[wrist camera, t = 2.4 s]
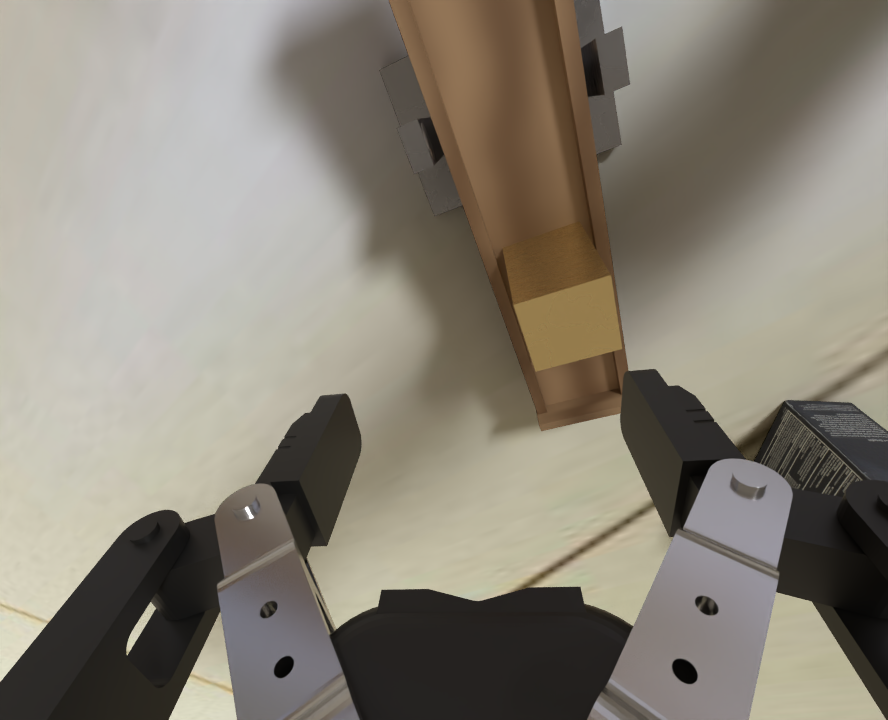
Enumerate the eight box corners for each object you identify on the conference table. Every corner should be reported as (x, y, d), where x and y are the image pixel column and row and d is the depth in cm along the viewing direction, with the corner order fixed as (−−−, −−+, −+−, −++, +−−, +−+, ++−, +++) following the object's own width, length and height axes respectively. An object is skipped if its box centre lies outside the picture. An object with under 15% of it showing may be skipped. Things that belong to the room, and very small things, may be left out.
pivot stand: (589, -32, 25) (637, -96, 17) (617, 143, 30) (664, 155, 22) (382, 71, 29) (344, 56, 21) (435, 213, 33) (420, 244, 25)
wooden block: (579, 221, 26) (610, 275, 21) (591, 286, 29) (622, 348, 24) (502, 247, 27) (513, 305, 22) (521, 308, 30) (535, 371, 25)
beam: (485, -509, 13) (492, -646, 10) (625, 380, 36) (638, 409, 34) (273, -333, 15) (233, -409, 12) (535, 402, 38) (541, 431, 36)
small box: (807, 481, 44) (890, 576, 35) (742, 478, 45) (807, 570, 36) (857, 401, 39) (969, 489, 30) (783, 398, 39) (871, 484, 30)
